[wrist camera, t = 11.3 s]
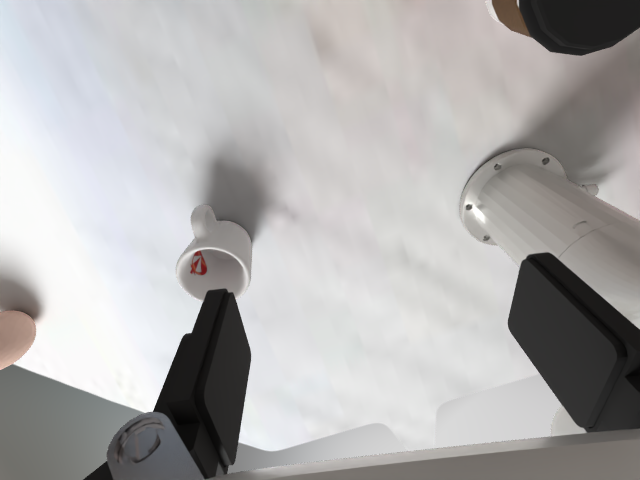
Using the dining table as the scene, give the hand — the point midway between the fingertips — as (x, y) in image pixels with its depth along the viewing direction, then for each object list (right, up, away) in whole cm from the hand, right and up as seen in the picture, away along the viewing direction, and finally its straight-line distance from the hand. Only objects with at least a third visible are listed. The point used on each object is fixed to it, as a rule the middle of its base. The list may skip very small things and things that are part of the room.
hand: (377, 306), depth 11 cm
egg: (-44, -9, +38) cm, 59 cm away
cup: (-14, +3, +33) cm, 36 cm away
